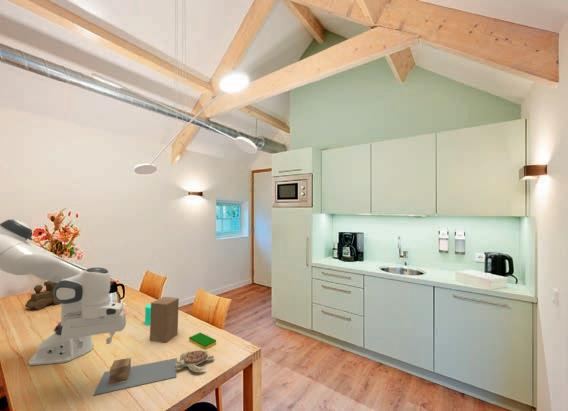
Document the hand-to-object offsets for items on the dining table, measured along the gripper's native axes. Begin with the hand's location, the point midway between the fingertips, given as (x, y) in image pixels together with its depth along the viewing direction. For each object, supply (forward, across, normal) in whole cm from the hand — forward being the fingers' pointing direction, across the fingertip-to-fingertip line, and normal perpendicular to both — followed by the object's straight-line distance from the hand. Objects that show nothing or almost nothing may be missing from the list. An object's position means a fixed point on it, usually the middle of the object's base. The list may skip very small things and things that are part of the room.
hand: (94, 345), depth 96 cm
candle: (+15, +13, +53) cm, 57 cm away
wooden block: (+16, +23, +31) cm, 42 cm away
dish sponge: (+16, +42, +19) cm, 48 cm away
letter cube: (+15, +9, 0) cm, 17 cm away
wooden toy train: (+15, -59, +110) cm, 126 cm away
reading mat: (+15, +16, 0) cm, 22 cm away
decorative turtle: (+16, +37, +1) cm, 40 cm away
